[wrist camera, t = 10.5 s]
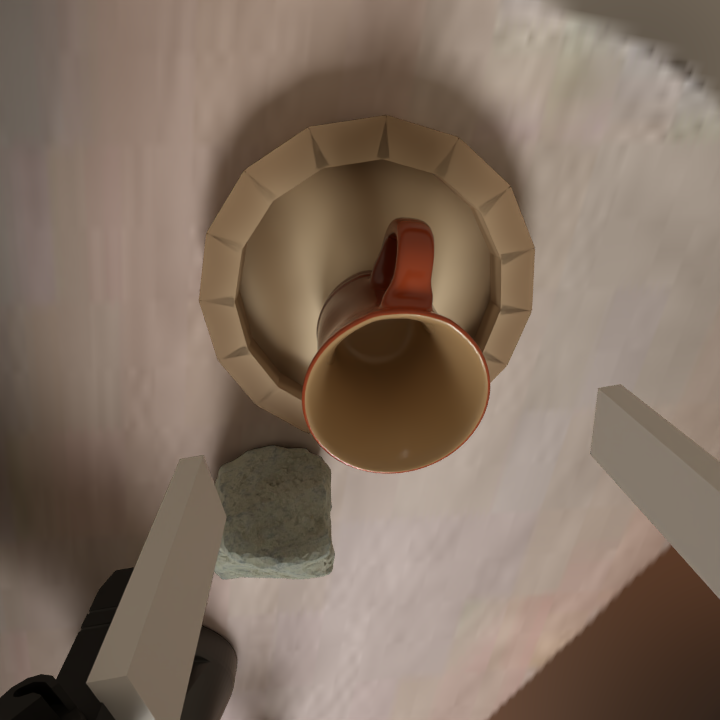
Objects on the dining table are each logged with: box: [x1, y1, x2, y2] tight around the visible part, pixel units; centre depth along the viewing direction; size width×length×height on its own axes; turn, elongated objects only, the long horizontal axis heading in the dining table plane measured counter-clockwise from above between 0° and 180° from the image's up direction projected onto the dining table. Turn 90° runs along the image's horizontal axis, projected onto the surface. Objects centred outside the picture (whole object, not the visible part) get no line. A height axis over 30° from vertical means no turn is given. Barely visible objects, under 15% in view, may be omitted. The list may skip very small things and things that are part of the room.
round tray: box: [199, 115, 535, 433], centre depth 28 cm, size 20×20×3 cm
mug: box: [302, 217, 490, 474], centre depth 24 cm, size 12×9×10 cm
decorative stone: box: [214, 445, 335, 579], centre depth 34 cm, size 13×11×10 cm
